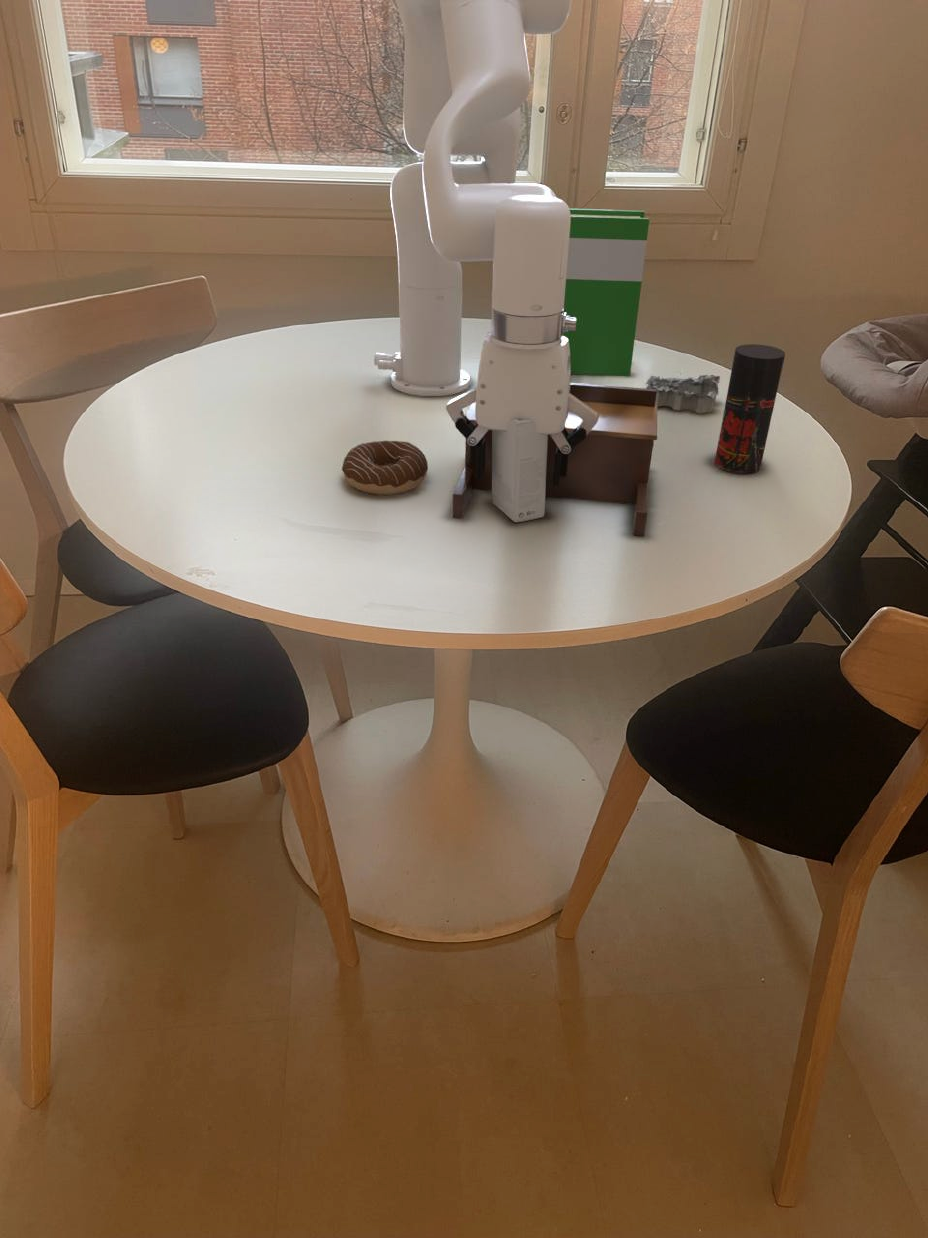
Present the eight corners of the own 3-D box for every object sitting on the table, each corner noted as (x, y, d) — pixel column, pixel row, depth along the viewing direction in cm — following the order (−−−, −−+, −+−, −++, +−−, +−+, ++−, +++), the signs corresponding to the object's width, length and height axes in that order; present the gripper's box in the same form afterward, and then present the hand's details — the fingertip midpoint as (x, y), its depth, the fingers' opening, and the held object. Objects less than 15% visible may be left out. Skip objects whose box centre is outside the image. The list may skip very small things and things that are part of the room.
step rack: (449, 517, 105) (451, 427, 99) (475, 456, 120) (477, 374, 114) (646, 536, 102) (660, 444, 96) (647, 471, 117) (659, 388, 111)
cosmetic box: (545, 517, 105) (553, 418, 98) (512, 524, 103) (517, 423, 97) (520, 496, 110) (526, 399, 103) (487, 502, 108) (491, 405, 101)
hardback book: (625, 362, 155) (643, 210, 141) (630, 376, 148) (649, 218, 135) (523, 358, 155) (531, 207, 142) (522, 372, 149) (531, 215, 136)
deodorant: (708, 456, 121) (728, 344, 113) (751, 455, 122) (774, 343, 113) (722, 474, 116) (745, 358, 108) (767, 473, 117) (792, 358, 109)
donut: (422, 461, 118) (422, 432, 116) (434, 496, 109) (434, 466, 107) (340, 466, 116) (338, 436, 114) (345, 502, 107) (343, 471, 105)
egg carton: (719, 401, 139) (724, 375, 137) (709, 417, 134) (714, 390, 131) (651, 390, 143) (655, 364, 141) (639, 405, 137) (643, 378, 135)
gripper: (611, 321, 97) (595, 471, 106) (452, 311, 99) (450, 458, 109) (608, 341, 90) (591, 498, 100) (438, 329, 93) (438, 484, 102)
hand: (518, 477), depth 104 cm, fingers open, 8 cm apart
